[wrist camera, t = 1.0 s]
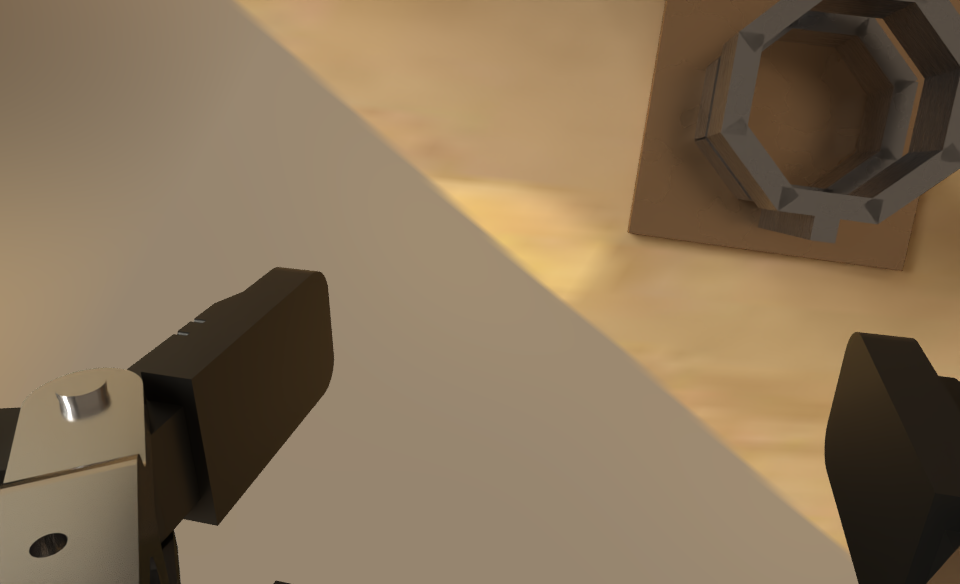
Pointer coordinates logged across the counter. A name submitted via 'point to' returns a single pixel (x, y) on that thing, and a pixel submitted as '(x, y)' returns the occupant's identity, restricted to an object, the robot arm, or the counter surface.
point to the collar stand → (799, 125)
